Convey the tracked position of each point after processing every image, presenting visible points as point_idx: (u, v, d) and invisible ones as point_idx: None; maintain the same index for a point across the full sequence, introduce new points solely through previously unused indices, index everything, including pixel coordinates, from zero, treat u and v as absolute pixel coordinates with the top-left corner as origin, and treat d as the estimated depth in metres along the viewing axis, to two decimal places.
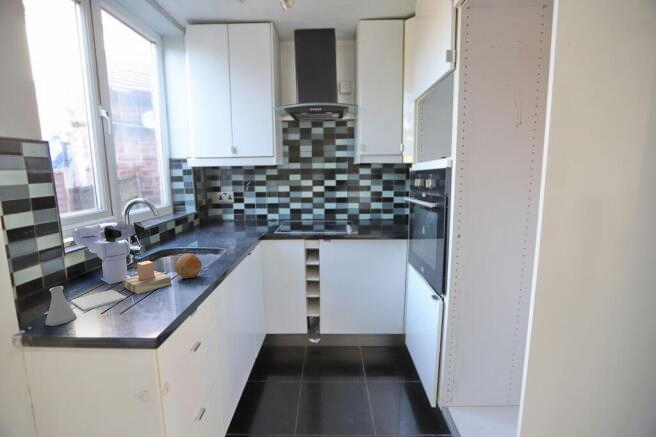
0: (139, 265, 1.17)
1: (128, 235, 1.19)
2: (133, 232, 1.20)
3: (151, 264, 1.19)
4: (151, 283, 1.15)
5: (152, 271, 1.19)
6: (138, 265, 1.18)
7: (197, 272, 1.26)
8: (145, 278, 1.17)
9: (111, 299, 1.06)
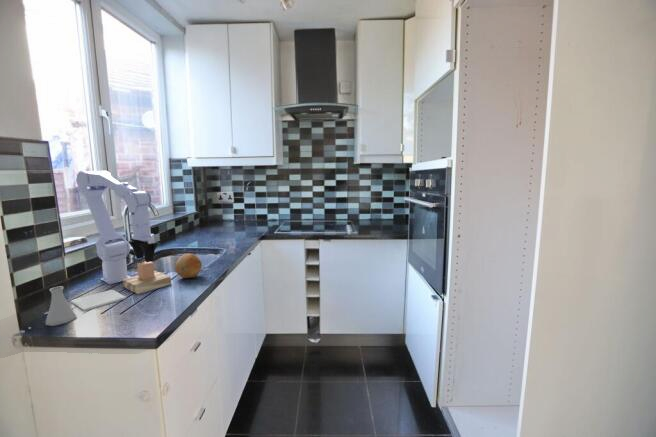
0: (139, 265, 1.17)
1: None
2: None
3: (151, 264, 1.19)
4: (151, 283, 1.15)
5: (152, 271, 1.19)
6: (138, 265, 1.18)
7: (197, 272, 1.26)
8: (145, 278, 1.17)
9: (111, 299, 1.06)
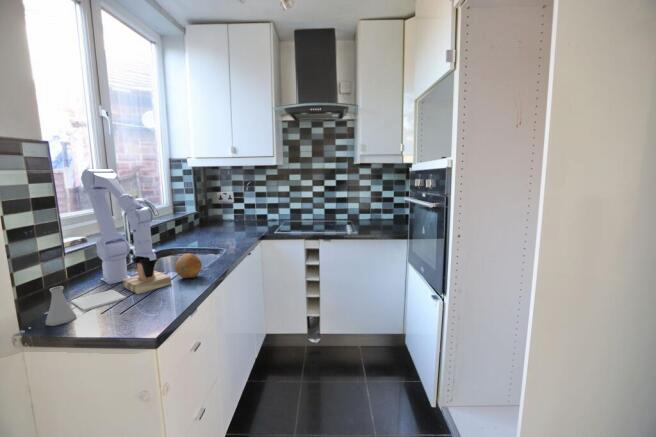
0: (139, 265, 1.17)
1: None
2: None
3: None
4: (151, 283, 1.15)
5: None
6: (138, 265, 1.18)
7: (197, 272, 1.26)
8: (145, 278, 1.17)
9: (111, 299, 1.06)
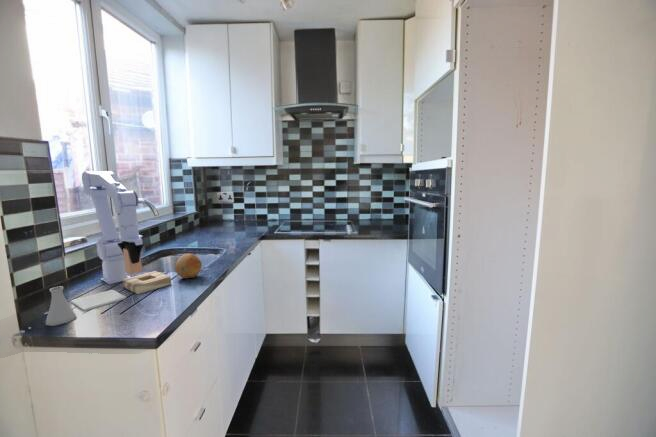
0: (125, 250, 1.13)
1: None
2: None
3: None
4: (151, 283, 1.15)
5: None
6: (124, 251, 1.13)
7: (197, 272, 1.26)
8: (131, 264, 1.13)
9: (111, 299, 1.06)
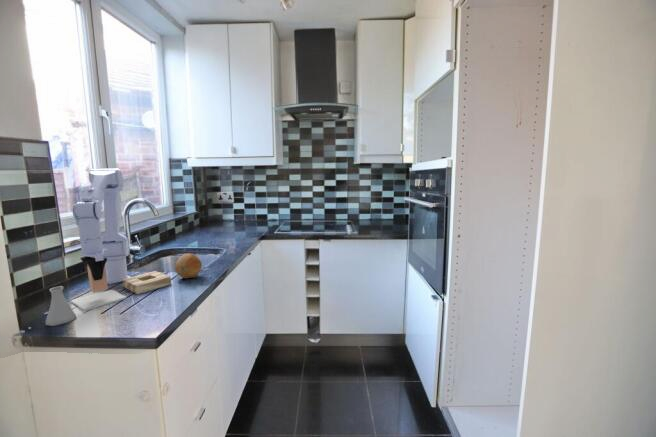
0: (88, 266, 1.04)
1: None
2: None
3: None
4: (151, 283, 1.15)
5: (104, 273, 1.05)
6: (88, 266, 1.04)
7: (197, 272, 1.26)
8: (95, 281, 1.04)
9: (111, 299, 1.06)
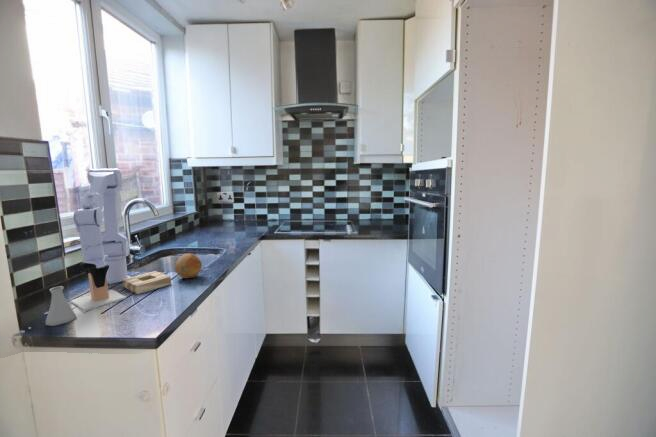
0: (89, 275, 1.04)
1: None
2: None
3: None
4: (151, 283, 1.15)
5: (105, 282, 1.06)
6: (89, 275, 1.05)
7: (197, 272, 1.26)
8: (96, 290, 1.04)
9: (111, 299, 1.06)
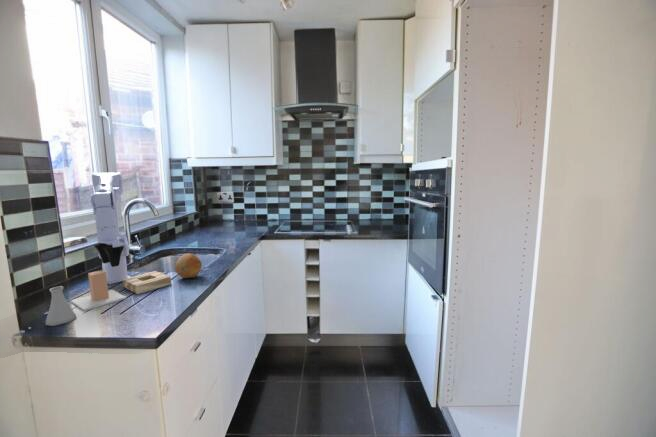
0: (89, 275, 1.04)
1: None
2: None
3: (103, 274, 1.05)
4: (151, 283, 1.15)
5: (105, 282, 1.06)
6: (89, 275, 1.05)
7: (197, 272, 1.26)
8: (96, 290, 1.04)
9: (111, 299, 1.06)
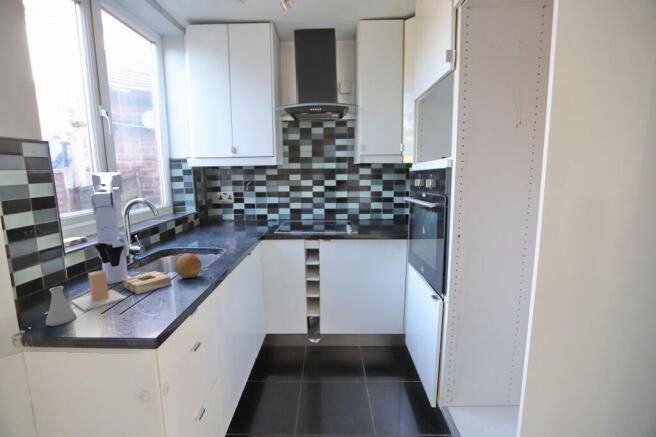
0: (89, 275, 1.04)
1: None
2: None
3: (103, 274, 1.05)
4: (151, 283, 1.15)
5: (105, 282, 1.06)
6: (89, 275, 1.05)
7: (197, 272, 1.26)
8: (96, 290, 1.04)
9: (111, 299, 1.06)
